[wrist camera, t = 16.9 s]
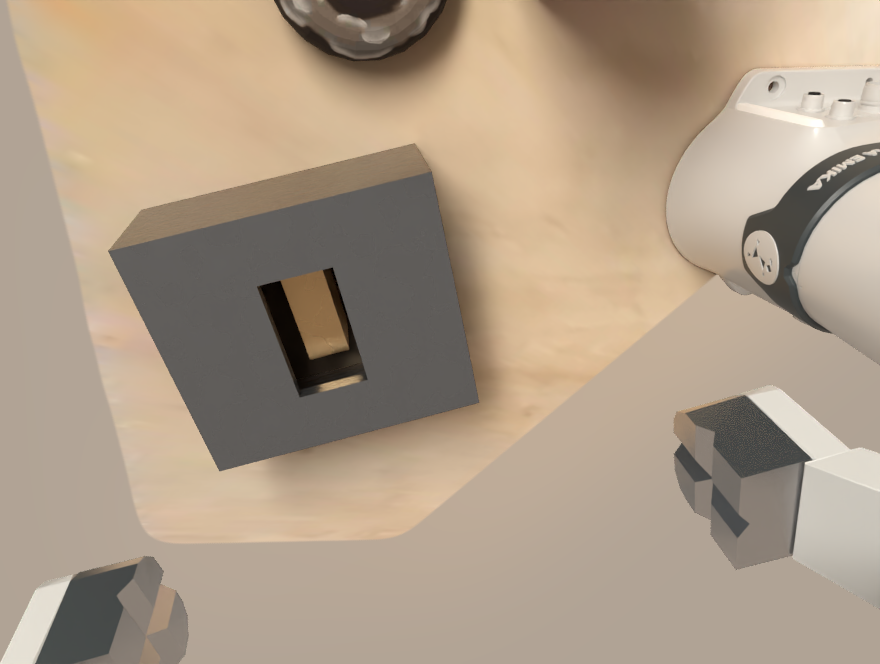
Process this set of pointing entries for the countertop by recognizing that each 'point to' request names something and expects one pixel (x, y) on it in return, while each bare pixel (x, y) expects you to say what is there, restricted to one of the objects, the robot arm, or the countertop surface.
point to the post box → (289, 255)
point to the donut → (361, 25)
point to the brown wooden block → (318, 312)
